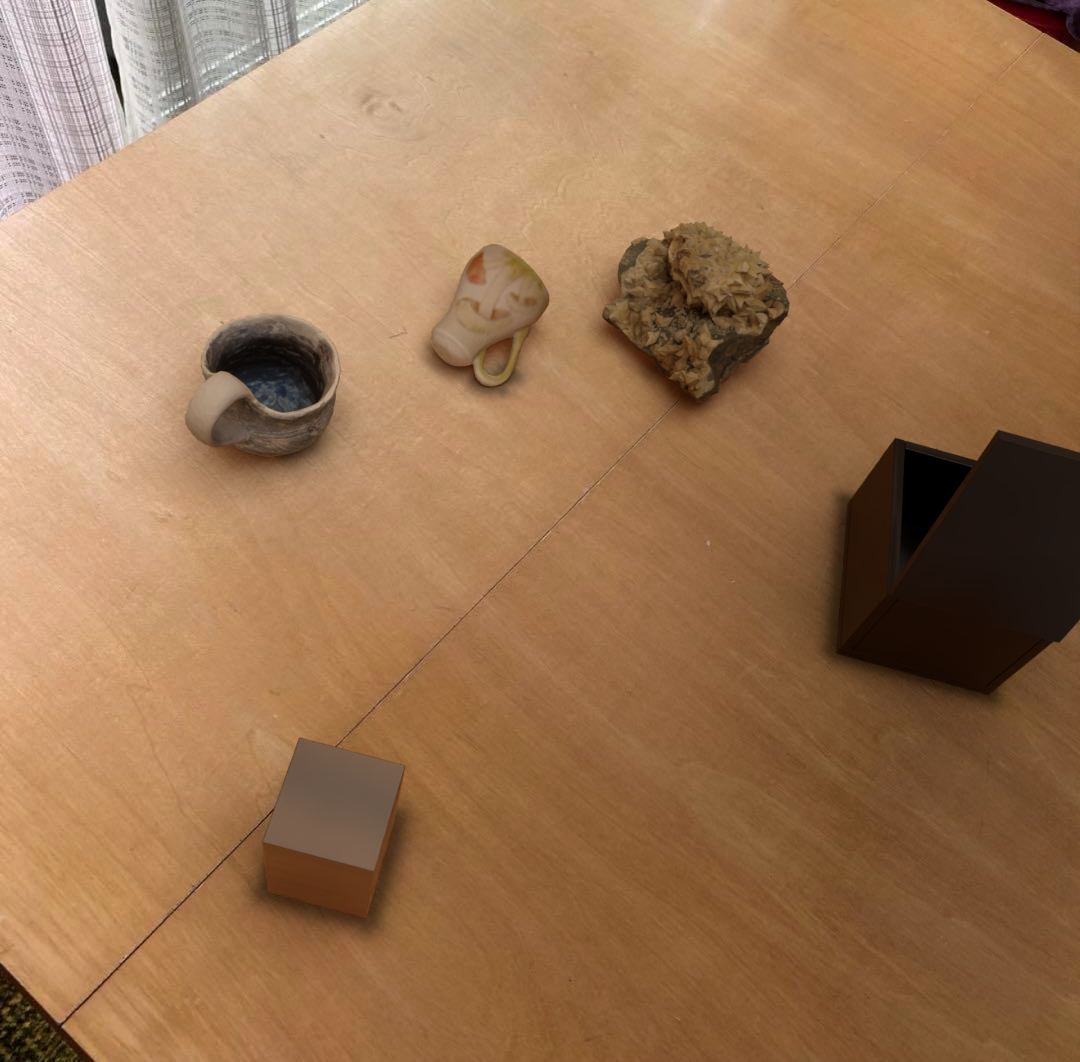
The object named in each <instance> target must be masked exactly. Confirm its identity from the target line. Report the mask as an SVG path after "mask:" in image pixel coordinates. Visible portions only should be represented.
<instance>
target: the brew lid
mask: <svg viewBox="0 0 1080 1062" xmlns="http://www.w3.org/2000/svg"><path fill="white" fill-rule="evenodd" d="M976 460H977V461H976V463H975V464H974V466H973V467H972V469H971V470H970V472H969V473H968V474H967V476H966V477H965V479H964V480H963V482H962V483H961V485H960V486H959V488H958V489H957V491H956V492H955V494H954V495H953V496H952V498H951V499H950V501H949V502H948V504H947V505H946V507H945V508H944V510H943V511H942V513H941V514H940V516H939V517H938V518H937V520H936V521H935V523H934V524H933V526H932V527H931V529H930V530H929V532H928V533H927V535H926V536H925V538H924V539H923V540H922V542H921V543H920V545H919V546H918V548H917V549H916V551H915V552H914V554H913V555H912V557H911V558H910V560H909V561H908V562H907V564H906V565H905V567H904V568H903V570H902V571H901V573H900V574H899V576H898V577H897V579H896V580H895V582H894V583H893V584H892V586H891V587H890V594H891V597H894V598H898V599H901V600H905V601H909V602H912V603H916V604H920V605H923V606H927V607H931V608H934V609H938V610H941V611H945V612H949V613H952V614H956V615H960V616H963V617H967V618H970V619H974V620H978V621H981V622H985V623H989V624H992V625H996V626H1000V627H1003V628H1007V629H1010V630H1014V631H1018V632H1021V633H1025V634H1029V635H1032V636H1036V637H1040V638H1043V639H1047V640H1050V641H1054V642H1055V643H1057V644H1060V643H1061V642H1062V641H1063V639H1064V638H1065V637H1067V635H1068V634H1069V633H1070V632H1071V631H1072V630H1073V628H1074V627H1075V626H1076V625H1077V624H1078V623H1079V622H1080V451H1076V450H1073V449H1069V448H1065V447H1062V446H1057V445H1054V444H1051V443H1047V442H1044V441H1042V440H1041V441H1040V440H1037V439H1033V438H1030V437H1026V436H1023V435H1018V434H1016V433H1012V432H1009V431H1005V430H1001V429H997V430H996V432H995V434H994V435H993V436H992V438H991V439H990V441H989V442H988V443H987V445H986V446H985V448H984V449H983V450H982V452H981V454H980V455H979V457H978V459H976ZM1054 642H1053V643H1054Z"/></svg>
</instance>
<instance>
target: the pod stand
mask: <svg viewBox="0 0 1080 1062" xmlns="http://www.w3.org/2000/svg"><path fill="white" fill-rule="evenodd" d="M405 769H406V765H405V764H402V763H398V762H393V761H391V760H386V759H382V758H379V757H374V756H371V755H368V754H364V753H361V752H356V751H352V750H349V749H345V748H342V747H338V746H334V745H330V744H327V743H323V742H319V741H315V740H311V739H308V738H304V737H299V738H298V740H297V742H296V744H295V748H294V751H293V753H292V757H291V759H290V761H289V765H288V768H287V770H286V774H285V776H284V779H283V781H282V785H281V788H280V791H279V793H278V796H277V799H276V802H275V805H274V807H273V811H272V814H271V815H270V816H271V817H270V819H269V822H268V824H267V827H266V831H265V833H264V836H263V839H262V849H263V850H262V851H263V858H264V870H265V877H266V886H267V893H268V894H272V895H276V896H279V897H284V898H286V899H291V900H295V901H298V902H302V903H305V904H310V905H312V906H313V905H314V906H317V907H321V908H325V909H329V910H332V911H337V912H341V913H344V914H348V915H351V916H356V917H358V918H359V917H360V918H364V919H367V917H368V914H369V911H370V907H371V904H372V900H373V897H374V894H375V889H376V886H377V883H378V880H379V876H380V873H381V869H382V866H383V862H384V859H385V856H386V852H387V849H388V845H389V842H390V838H391V834H392V832H393V828H394V826H395V825H394V824H395V820H396V815H397V809H398V805H399V800H400V796H401V795H400V794H401V790H402V785H403V780H404V775H405V772H406V771H405Z"/></svg>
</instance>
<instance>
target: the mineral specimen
mask: <svg viewBox="0 0 1080 1062" xmlns="http://www.w3.org/2000/svg"><path fill="white" fill-rule="evenodd" d="M723 233H724V230H715V228H714V225H711V226H708V225H707V223H706V221H702V222H700V221H695V222H694V223H693V222H689V223H688V222H683V223H682V222H679V223H678V226H676V227H674V228H671V229H670V230H662V234H663V239H658V238H656V237H654V236H653V237H651V238H647V237H645V236H641V237H638V238H635V239H633V240H631V241H630V245H629V246H628V247H627V248H626V250H625V252H624V253H623V255H622V256H621V258H620V261H619V263H618V267H617V268H618V269H617V280H618V284H619V287H620V292H621V294H620V295H619V297H618V298H616V299H615V300H612V301H611V302H610V303H608V304H606V305H605V307H604V308H603V310H602V313H601V314H602V315H601V318H602V319H603V320H604V321H606V323H608V324H609V325H610V326H611V327H613V328H614V329H616V330H618V331H620V332H621V333H622V334H623V335H624V336H625V337H626V338H627V339H628V340H630V342H632V344H633V345H634V346H635V347H636V349H637V350H638V351H641V353H644V354H646V355H647V356H648V357H649V358H650V359H651V360H652V361H653V362H654V365H655V369H657V370H658V371H659V372H661V374H662V375H663V376H664V377H665V378H666V379H668V380H671V381H673V382H675V383H676V384H677V385H678V387H679V388H680V389H681V390H682V391H683V392H684V393H685V394H686V395H687V396H690V397H691V398H692V399H693V400H694V401H695V403H696V404H699V403H704V402H706V401H708V400H709V399H710V398H711V397H712V396H714V395H716V394H718V393H719V392H720V389H721V385H722V384H724V383H725V382H726V381H727V380H728V379H730V378H731V376H732V373H733V372H734V371H735V370H736V369H737V368H738V367H739V366H740V365H741V364H746V363H750V361H752V360H753V359H754V358H755V357H756V356H757V355H758V354H760V352H761V351H762V350H763V349H764V348H765V347H767V346H768V345H770V338H771V336H772V334H773V333H774V331H775V330H776V329H777V327H779V326H780V325H781V324H782V323H783V322H784V320H785V319H786V318H787V317H788V315H789V310H790V303H791V302H790V300H789V298H788V296H787V290H786V289H785V287H784V284H785V283H784V282H783V281H781V280H779V279H778V278H777V277H776V276H774V275H773V274H774V272H772V270H769V268H771V265H770V263H769V262H766V261H764V260H762V259H760V258H761V253H762V250H757V251H756V252H755V251H754V250H753V249H752V248H750V247H749V245H748V244H747V243H746V244H745V246H744V247H743V246H742V245H740V243H739V242H736V241H735V240H733V236H732V235H730V236H727V235H725V234H723Z"/></svg>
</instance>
